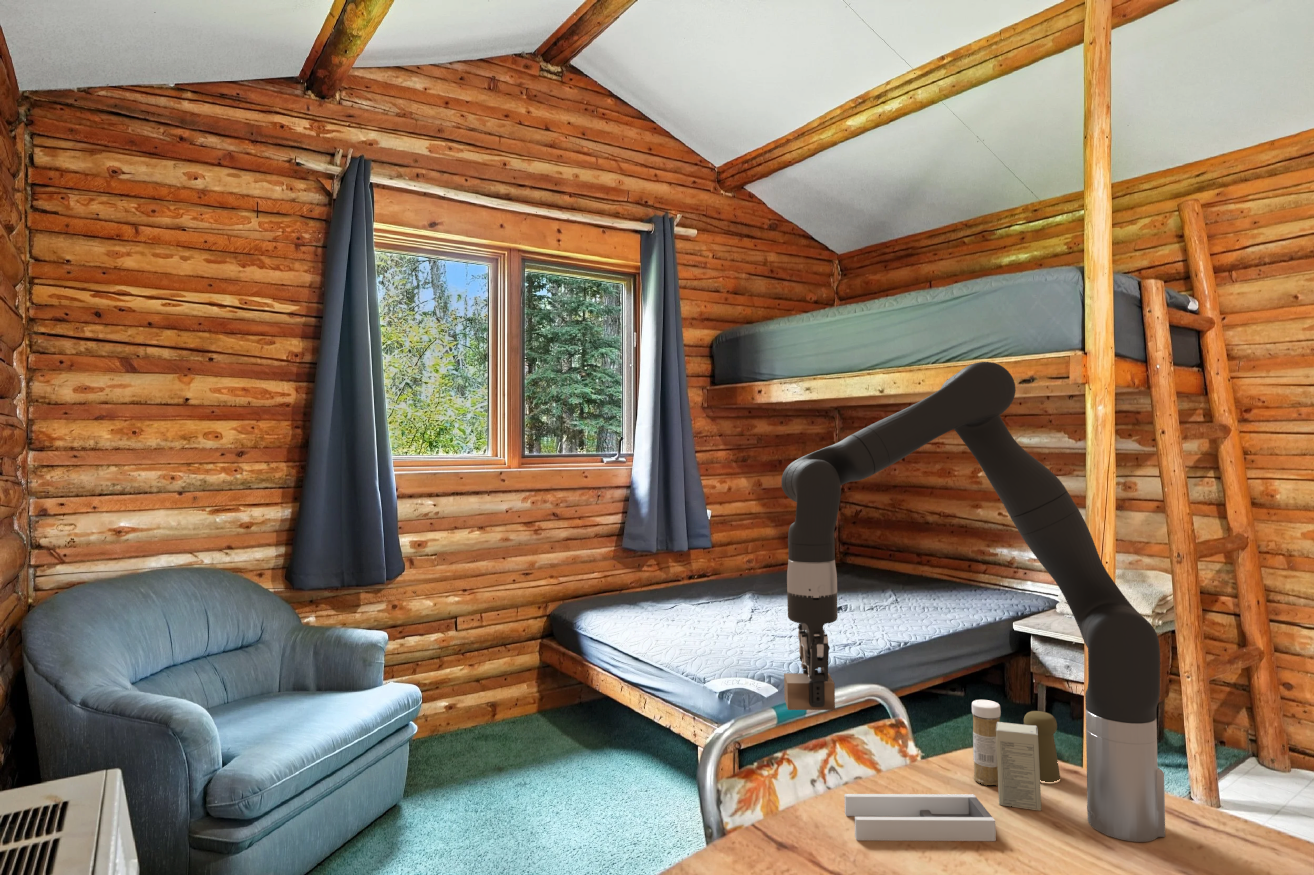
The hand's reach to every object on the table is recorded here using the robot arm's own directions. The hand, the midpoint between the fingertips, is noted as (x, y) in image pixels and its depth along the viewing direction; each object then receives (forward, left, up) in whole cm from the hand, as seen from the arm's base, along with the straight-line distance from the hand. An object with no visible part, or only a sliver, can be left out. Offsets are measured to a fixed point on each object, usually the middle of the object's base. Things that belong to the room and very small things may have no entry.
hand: (813, 699), depth 119 cm
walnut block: (+1, 0, -1) cm, 1 cm away
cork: (-42, -18, -19) cm, 50 cm away
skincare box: (-34, -8, -20) cm, 40 cm away
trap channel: (-15, 0, -19) cm, 25 cm away
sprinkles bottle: (-32, -16, -19) cm, 41 cm away
